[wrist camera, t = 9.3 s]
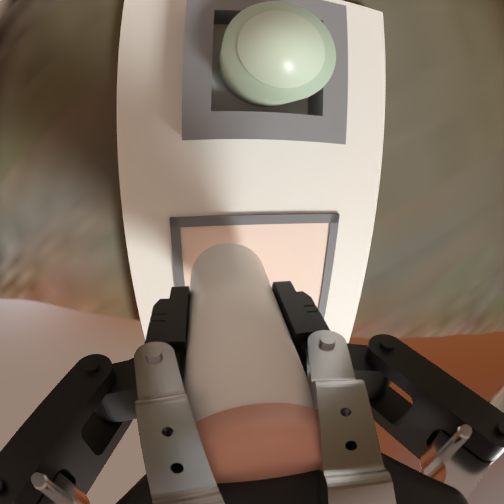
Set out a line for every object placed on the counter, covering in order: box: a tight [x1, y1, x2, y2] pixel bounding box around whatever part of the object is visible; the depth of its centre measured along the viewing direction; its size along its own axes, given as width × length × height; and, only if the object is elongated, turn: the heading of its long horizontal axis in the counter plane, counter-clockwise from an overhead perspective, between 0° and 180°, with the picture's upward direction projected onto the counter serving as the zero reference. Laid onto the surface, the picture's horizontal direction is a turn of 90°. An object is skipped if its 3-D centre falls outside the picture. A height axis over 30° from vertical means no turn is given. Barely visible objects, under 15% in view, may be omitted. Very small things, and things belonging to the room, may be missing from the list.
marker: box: [184, 243, 321, 483], centre depth 10 cm, size 4×4×10 cm
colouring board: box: [117, 0, 385, 343], centre depth 15 cm, size 14×24×3 cm, turn 179°
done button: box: [219, 1, 336, 107], centre depth 10 cm, size 4×4×3 cm
